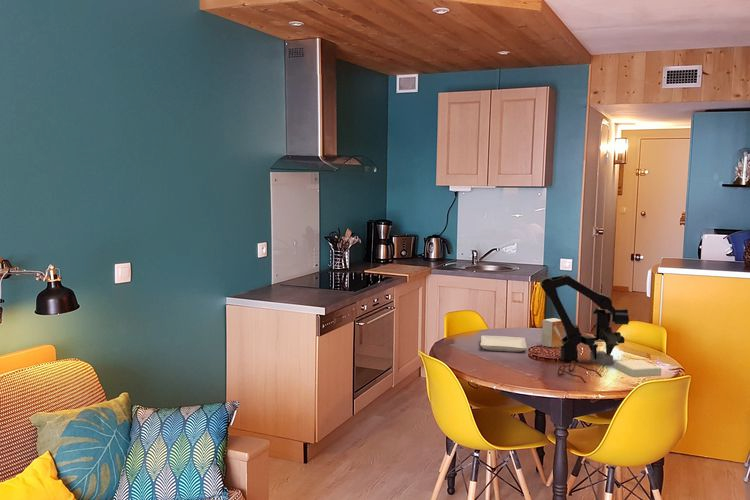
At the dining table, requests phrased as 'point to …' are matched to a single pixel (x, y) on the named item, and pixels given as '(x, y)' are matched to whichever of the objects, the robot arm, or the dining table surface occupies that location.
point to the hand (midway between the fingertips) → (601, 358)
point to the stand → (637, 368)
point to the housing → (602, 358)
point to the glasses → (573, 369)
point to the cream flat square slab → (503, 343)
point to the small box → (552, 332)
